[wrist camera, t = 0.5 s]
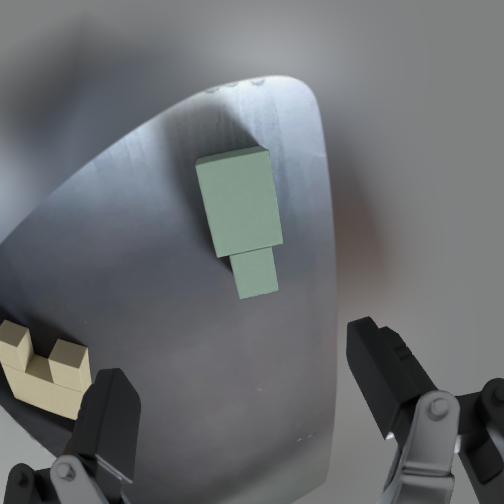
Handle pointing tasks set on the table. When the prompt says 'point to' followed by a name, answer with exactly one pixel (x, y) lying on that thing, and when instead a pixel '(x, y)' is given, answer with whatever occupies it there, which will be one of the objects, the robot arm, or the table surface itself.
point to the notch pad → (44, 371)
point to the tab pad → (242, 215)
